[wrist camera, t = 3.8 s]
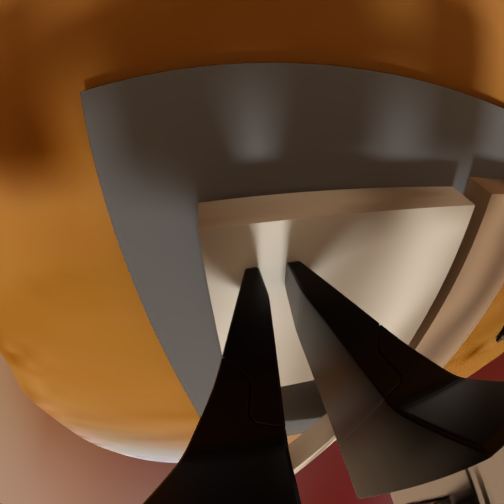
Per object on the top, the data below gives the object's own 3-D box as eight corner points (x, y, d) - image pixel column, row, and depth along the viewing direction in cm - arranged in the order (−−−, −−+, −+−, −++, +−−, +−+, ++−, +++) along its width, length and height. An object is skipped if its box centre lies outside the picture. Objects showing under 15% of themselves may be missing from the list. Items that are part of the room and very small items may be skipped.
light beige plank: (452, 186, 10) (475, 205, 8) (392, 335, 16) (401, 354, 15) (197, 202, 9) (198, 230, 7) (228, 370, 15) (231, 394, 14)
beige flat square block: (373, 367, 18) (388, 379, 17) (343, 414, 24) (353, 423, 23) (265, 461, 14) (281, 478, 13) (264, 477, 20) (275, 488, 19)
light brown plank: (525, 182, 10) (543, 196, 9) (399, 397, 25) (404, 408, 24) (468, 176, 9) (491, 194, 8) (350, 413, 25) (354, 425, 24)
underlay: (546, 129, 8) (550, 132, 8) (401, 401, 28) (402, 403, 28) (85, 90, 6) (80, 91, 6) (217, 441, 26) (217, 444, 26)
